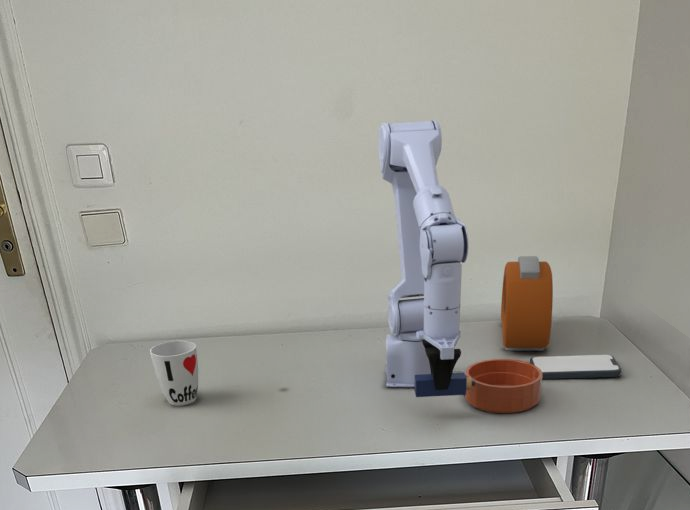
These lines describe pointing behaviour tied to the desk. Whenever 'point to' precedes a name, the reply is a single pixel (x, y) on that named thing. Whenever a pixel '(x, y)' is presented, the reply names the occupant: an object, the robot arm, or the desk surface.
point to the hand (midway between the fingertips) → (440, 385)
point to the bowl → (504, 385)
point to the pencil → (456, 387)
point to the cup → (176, 370)
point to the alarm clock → (527, 304)
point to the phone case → (577, 366)
